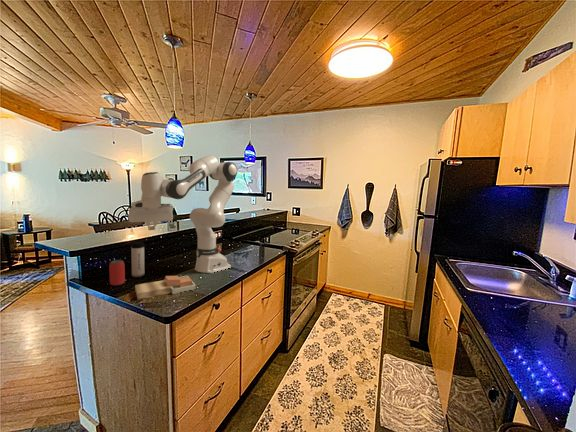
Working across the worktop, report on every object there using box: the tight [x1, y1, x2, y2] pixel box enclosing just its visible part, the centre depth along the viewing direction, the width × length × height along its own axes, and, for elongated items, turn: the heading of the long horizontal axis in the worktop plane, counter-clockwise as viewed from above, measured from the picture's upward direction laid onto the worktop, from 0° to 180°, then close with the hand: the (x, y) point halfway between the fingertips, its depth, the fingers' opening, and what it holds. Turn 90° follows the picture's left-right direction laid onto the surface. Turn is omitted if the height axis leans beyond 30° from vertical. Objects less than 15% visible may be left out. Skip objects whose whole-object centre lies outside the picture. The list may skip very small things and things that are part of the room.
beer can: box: [108, 259, 126, 286], centre depth 127 cm, size 7×7×12 cm
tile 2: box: [178, 276, 193, 288], centre depth 128 cm, size 6×6×3 cm
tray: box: [170, 275, 197, 295], centre depth 128 cm, size 11×15×2 cm
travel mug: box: [130, 240, 145, 278], centre depth 139 cm, size 6×7×20 cm
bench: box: [134, 279, 172, 301], centre depth 120 cm, size 14×11×3 cm
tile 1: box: [164, 275, 181, 286], centre depth 125 cm, size 6×6×3 cm
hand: (151, 229), depth 127 cm, fingers closed
